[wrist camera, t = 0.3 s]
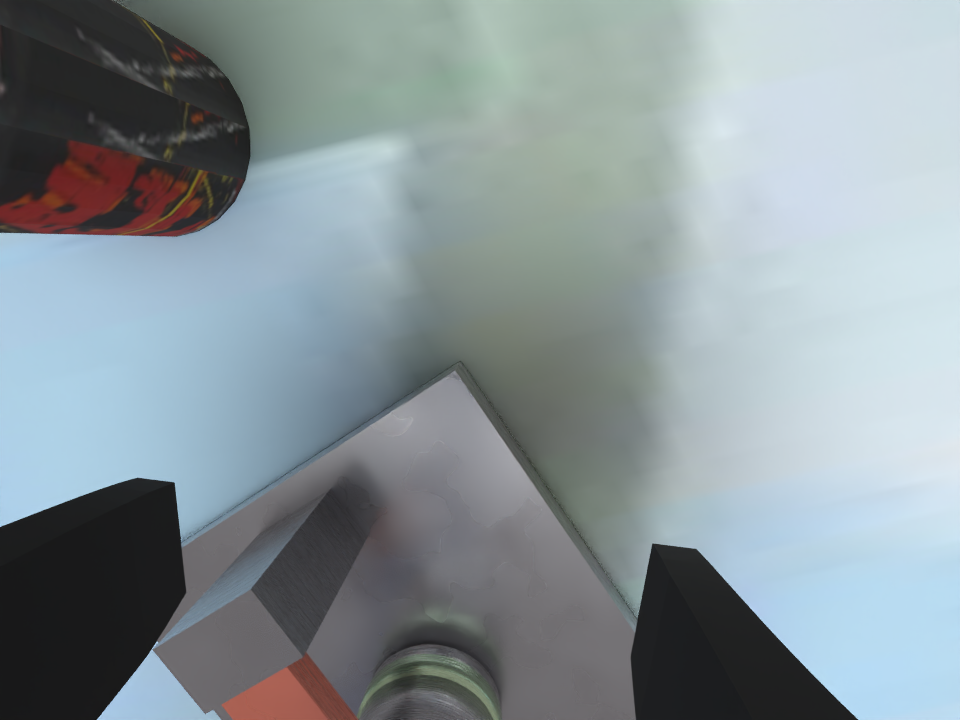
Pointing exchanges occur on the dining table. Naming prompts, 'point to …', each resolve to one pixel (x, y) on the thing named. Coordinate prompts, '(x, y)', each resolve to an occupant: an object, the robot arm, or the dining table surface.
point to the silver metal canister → (431, 687)
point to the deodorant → (111, 124)
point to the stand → (401, 576)
